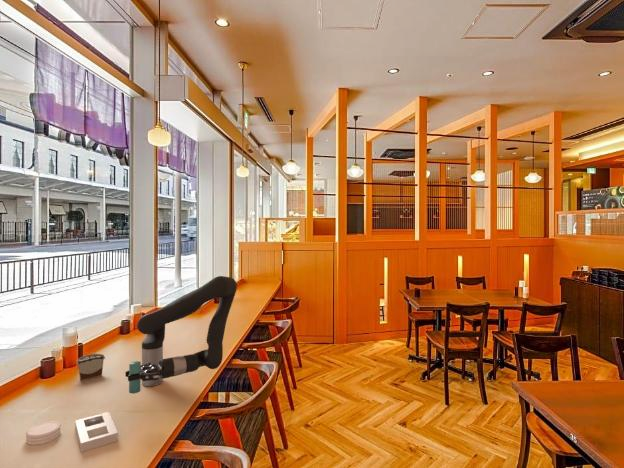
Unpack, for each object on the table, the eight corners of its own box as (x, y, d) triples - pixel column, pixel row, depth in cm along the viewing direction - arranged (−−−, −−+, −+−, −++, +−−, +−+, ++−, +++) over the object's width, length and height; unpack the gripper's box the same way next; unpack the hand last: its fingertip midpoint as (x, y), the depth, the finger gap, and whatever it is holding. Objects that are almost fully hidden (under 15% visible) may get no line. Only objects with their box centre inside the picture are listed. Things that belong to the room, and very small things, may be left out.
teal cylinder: (128, 390, 148) (128, 362, 147) (139, 388, 150) (139, 360, 150) (130, 394, 145) (130, 365, 144) (141, 391, 147) (141, 363, 147)
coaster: (19, 442, 131) (19, 432, 131) (48, 428, 141) (48, 418, 140) (39, 448, 128) (38, 438, 128) (67, 433, 137) (67, 423, 137)
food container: (101, 371, 194) (101, 351, 194) (105, 374, 190) (105, 354, 190) (73, 377, 186) (73, 357, 185) (76, 381, 181) (76, 360, 181)
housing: (75, 428, 140) (75, 420, 140) (108, 419, 146) (108, 411, 146) (80, 452, 125) (80, 442, 125) (117, 441, 132) (117, 432, 132)
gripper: (167, 352, 161) (123, 360, 151) (178, 363, 150) (131, 372, 140) (167, 370, 162) (123, 379, 151) (178, 382, 150) (130, 392, 140)
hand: (127, 376), depth 146 cm, fingers closed on teal cylinder, 4 cm apart
